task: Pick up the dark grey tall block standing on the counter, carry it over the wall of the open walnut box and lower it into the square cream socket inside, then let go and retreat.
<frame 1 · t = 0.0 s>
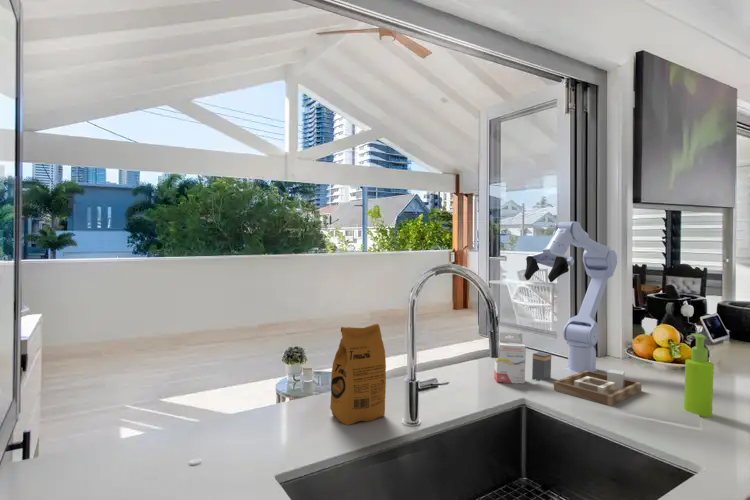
hand: (537, 278, 136), 32 cm above the worktop, tool tilted 50°, fingers open, 7 cm apart
coffee package: (357, 416, 111), on the worktop
soap dispenser: (697, 413, 118), on the worktop
grey plug: (615, 388, 134), point 1 cm above the worktop, touching walled box
ink cartridge box: (509, 381, 142), on the worktop
dark grey tall block: (541, 379, 145), on the worktop
walled box: (597, 392, 132), on the worktop
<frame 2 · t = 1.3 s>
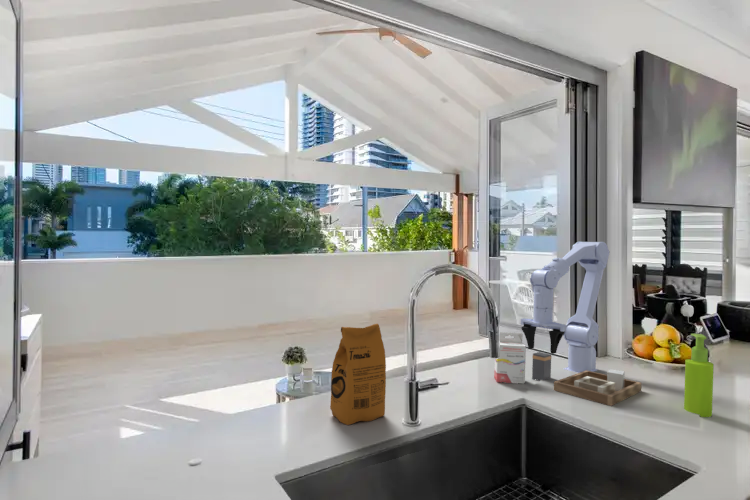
hand: (542, 350, 144), 9 cm above the worktop, tool pointing down, fingers open, 7 cm apart
nothing on the worktop moved.
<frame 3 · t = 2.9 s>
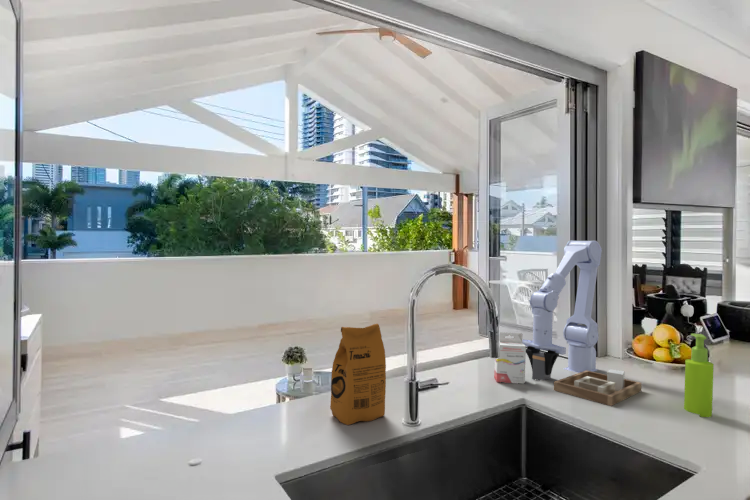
hand: (541, 372, 145), 2 cm above the worktop, tool pointing down, fingers closed on dark grey tall block, 4 cm apart
dark grey tall block: (541, 379, 145), on the worktop, touching gripper
everything else where it was.
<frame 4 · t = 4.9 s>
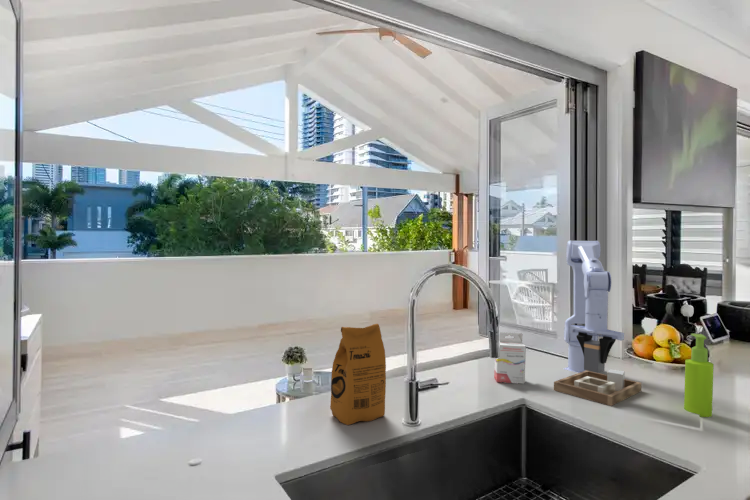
hand: (595, 361, 131), 9 cm above the worktop, tool pointing down, fingers closed on dark grey tall block, 4 cm apart
dark grey tall block: (594, 370, 130), point 7 cm above the worktop, touching gripper
everything else where it was.
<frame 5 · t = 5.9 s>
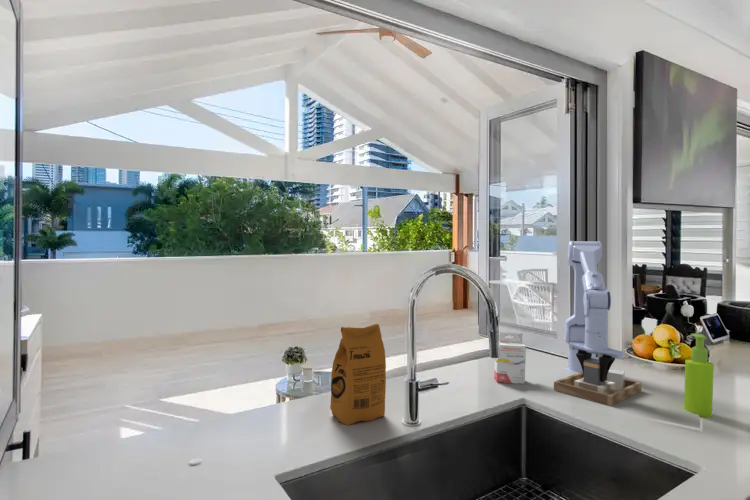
hand: (594, 379, 131), 4 cm above the worktop, tool pointing down, fingers closed on dark grey tall block, 4 cm apart
dark grey tall block: (593, 388, 131), point 2 cm above the worktop, touching gripper
everything else where it was.
when the fingers open (4 cm above the worktop, at t = 6.8 s): dark grey tall block drops 1 cm, resting on walled box.
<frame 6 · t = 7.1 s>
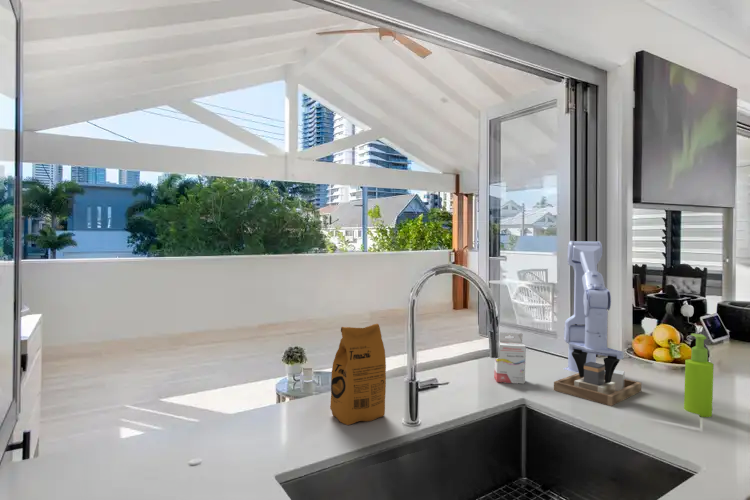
hand: (594, 379, 131), 4 cm above the worktop, tool pointing down, fingers open, 7 cm apart
dark grey tall block: (593, 392, 131), point 1 cm above the worktop, touching walled box
everything else where it was.
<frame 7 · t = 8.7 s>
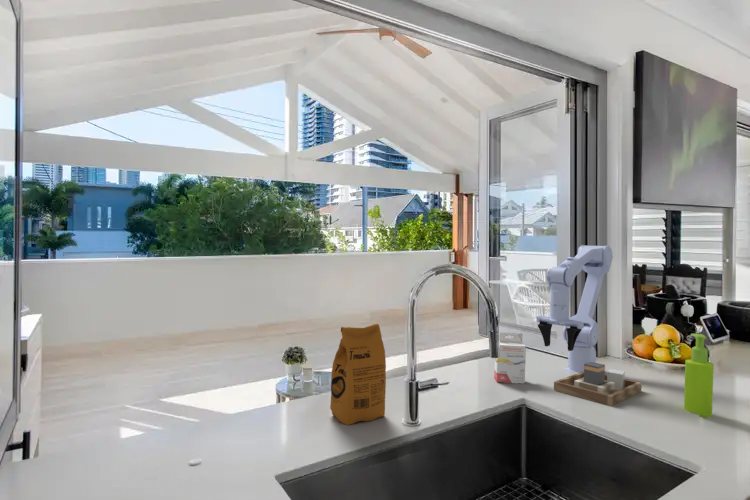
hand: (558, 348, 145), 10 cm above the worktop, tool pointing down, fingers open, 7 cm apart
nothing on the worktop moved.
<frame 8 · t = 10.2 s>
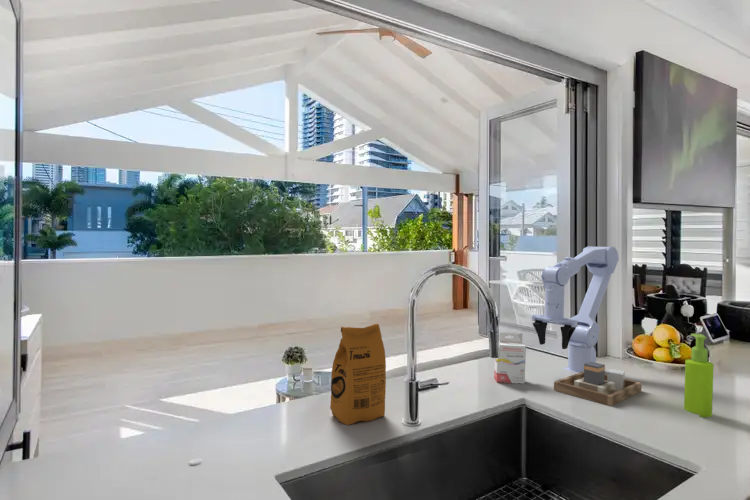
hand: (553, 346, 147), 10 cm above the worktop, tool pointing down, fingers open, 7 cm apart
nothing on the worktop moved.
at the end: dark grey tall block 0.4 cm from the target spot on the walled box, point 0.6 cm above the walled box's base; dark grey tall block tilted 0°; the gripper is holding nothing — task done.
